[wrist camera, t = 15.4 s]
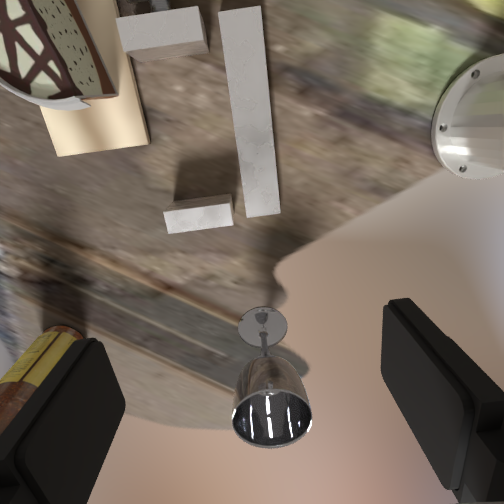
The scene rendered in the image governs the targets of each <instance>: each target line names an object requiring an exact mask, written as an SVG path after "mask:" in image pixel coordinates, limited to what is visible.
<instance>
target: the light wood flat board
mask: <svg viewBox="0 0 504 504" xmlns="http://www.w3.org/2000/svg"><path fill="white" fill-rule="evenodd" d="M76 1H77V3H78V5H79V7H80V10H81V12H82V14H83V16H84V19H85V21H86V23H87V25H88V28H89V30H90V32H91V34H92V36H93V39H94V41H95V43H96V45H97V48H98V50H99V52H100V54H101V56H102V59H103V61H104V63H105V65H106V68H107V70H108V72H109V74H110V77H111V79H112V81H113V83H114V85H115V88H116V90H117V92H118V94H119V96H117V97H114V98H108V99H96V100H82V101H84V102H86V103H88V104H90V105H91V107H88V108H84V109H81V110H71V111H66V110H55V109H51V108H46V107H43V106H40V108H41V111H42V114H43V116H44V119H45V122H46V125H47V128H48V130H49V133H50V136H51V139H52V142H53V144H54V147H55V150H56V153H57V156H58V157H60V156H67V155H74V154H81V153H88V152H95V151H103V150H110V149H117V148H124V147H131V146H138V145H145V144H151V143H150V139H149V134H148V130H147V126H146V122H145V118H144V114H143V110H142V106H141V101H140V97H139V93H138V89H137V85H136V81H135V77H134V73H133V68H132V64H131V60H130V56H129V55H128V54H126V53H125V52H123V48H122V44H121V40H120V35H119V31H118V27H117V23H116V19H115V18H120V15H119V11H118V7H117V2H116V0H76Z"/></svg>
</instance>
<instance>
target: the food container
mask: <svg viewBox="0 0 504 504" xmlns="http://www.w3.org/2000/svg"><path fill="white" fill-rule="evenodd" d="M0 85H1V86H3V87H4V88H5V89H7V90H9V91H10V92H12V93H14V94H16V95H17V96H19V97H21V98H23V99H26V100H28V101H30V102H32V103H35V104H37V105H40V106H43V107H46V108H51V109H55V110H66V111H71V110H81V109H84V108H88V107H91V105H90V104H88V103H86V102H84V101H82V100H96V99H108V98H114V97H117V96H119V94H118V92H117V90H116V88H115V85H114V83H113V81H112V79H111V77H110V74H109V72H108V70H107V68H106V65H105V63H104V61H103V59H102V56H101V54H100V52H99V50H98V48H97V45H96V43H95V41H94V39H93V36H92V34H91V32H90V30H89V28H88V25H87V23H86V21H85V19H84V16H83V14H82V12H81V10H80V7H79V5H78V3H77V1H76V0H0Z"/></svg>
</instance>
